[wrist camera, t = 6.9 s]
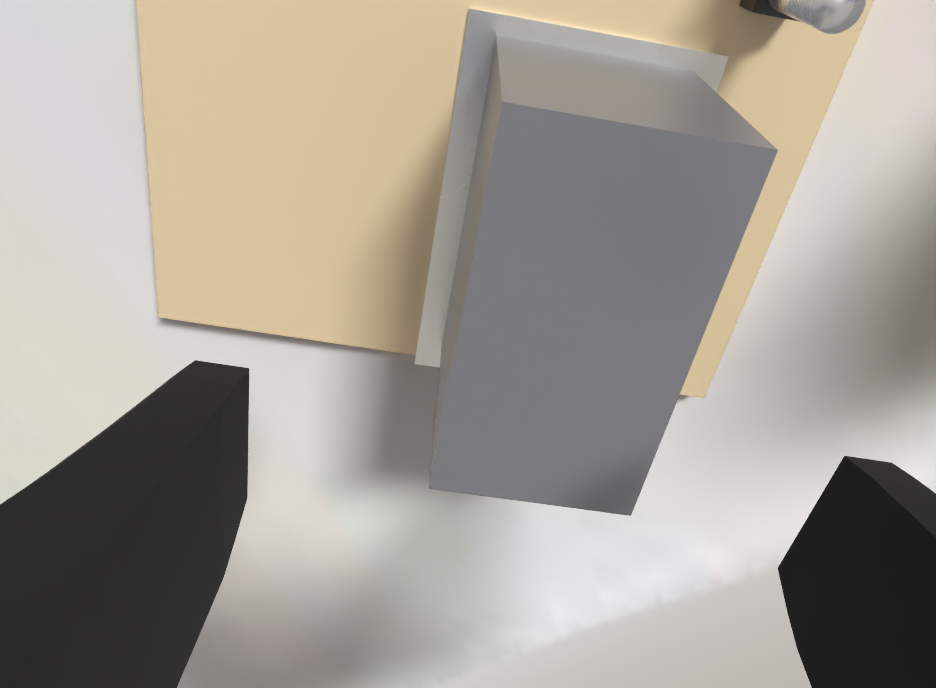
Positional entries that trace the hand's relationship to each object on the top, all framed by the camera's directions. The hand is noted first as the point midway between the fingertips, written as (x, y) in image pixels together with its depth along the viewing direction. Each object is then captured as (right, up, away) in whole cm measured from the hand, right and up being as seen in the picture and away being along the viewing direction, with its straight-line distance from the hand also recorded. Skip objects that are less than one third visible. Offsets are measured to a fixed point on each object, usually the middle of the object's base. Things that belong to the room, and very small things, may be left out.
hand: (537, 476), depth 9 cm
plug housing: (+1, +4, +8) cm, 9 cm away
